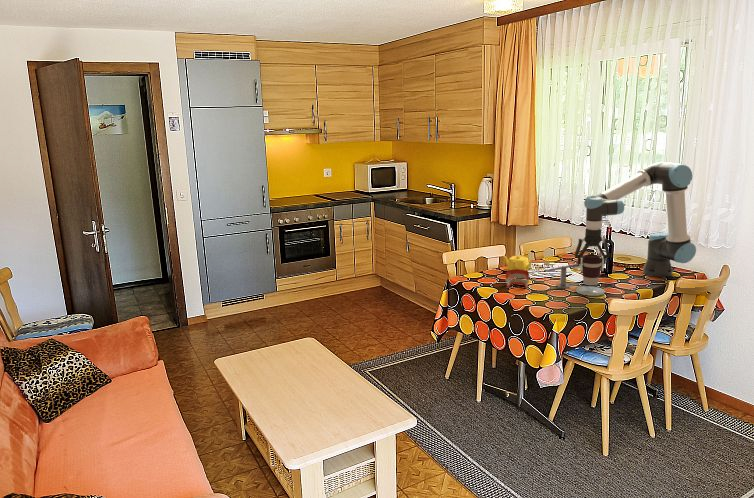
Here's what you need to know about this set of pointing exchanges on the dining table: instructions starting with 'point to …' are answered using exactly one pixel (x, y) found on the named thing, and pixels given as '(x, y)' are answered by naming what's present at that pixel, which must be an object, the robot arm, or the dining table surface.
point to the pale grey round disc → (590, 291)
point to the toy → (516, 274)
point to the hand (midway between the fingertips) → (591, 270)
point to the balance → (562, 273)
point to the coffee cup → (591, 269)
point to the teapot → (518, 262)
